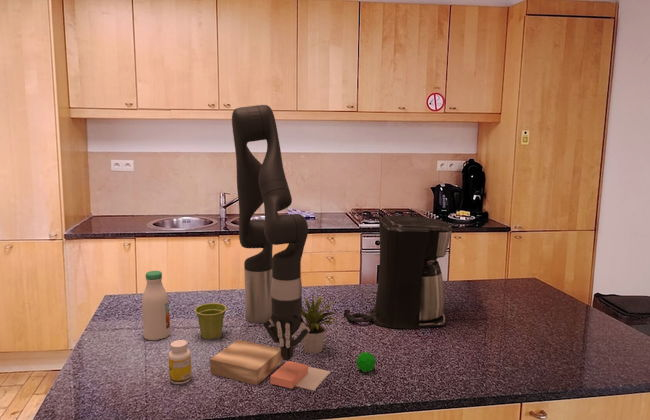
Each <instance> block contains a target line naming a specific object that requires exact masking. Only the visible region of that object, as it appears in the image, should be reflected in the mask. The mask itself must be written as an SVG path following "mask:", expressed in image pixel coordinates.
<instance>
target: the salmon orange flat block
mask: <svg viewBox="0 0 650 420" xmlns="http://www.w3.org/2000/svg"><path fill="white" fill-rule="evenodd" d="M308 367H309V365H308V364H304V363H299V362H295V361H291V360H289V361H285V362H284V363H282V364H281V365H280V367H279V368H278V369H276V371H273V372H272V374H271V375H270V379H269V380H270V384H272V385H275V386H279V387H283V388H287V389H291V390H293V388H294V387H296V386H295V385H296V384H297V383H298V382H299V381H300V380H301V379H302V378H303V377H304V376H305V375H306V374H307V373H308Z"/></svg>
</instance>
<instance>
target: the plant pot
mask: <svg viewBox="0 0 650 420" xmlns="http://www.w3.org/2000/svg"><path fill="white" fill-rule="evenodd" d="M226 311H227V306H226V305H224V304H222V303H218V302H210V303H205V304H204V303H203V304H201V305H198V306H196V307H195V308H194V313H196V317H197V318H198V319H197V320H198V325H199V330H200V336H201V338H202V339H204V340H212V339H219V338H221V336H222V334H223V328H224V327H223V325H224V324H223V323H224V318H225V317H224V316H225V315H226Z"/></svg>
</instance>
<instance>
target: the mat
mask: <svg viewBox="0 0 650 420" xmlns="http://www.w3.org/2000/svg"><path fill="white" fill-rule="evenodd" d="M330 374H331V371H329V370H326V369H321V368H316V367H311V366H308V373H307V374H306V375H305V376H304V377H303V378H302V379H301V380H300V381H299V382H298V383H297V384H296V385H295V386H294V387H297V388H301V389H305V390H309V391H315V390H316V389H318V387H319V386H320V385H321V384H322V383H323V382H324V380H325V379H326V378H327V377H328V376H329V375H330Z"/></svg>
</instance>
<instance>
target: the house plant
mask: <svg viewBox="0 0 650 420" xmlns="http://www.w3.org/2000/svg"><path fill="white" fill-rule="evenodd" d="M314 297H315V293H314V294H312V296H311V304H310V303H309V301H308V299H306V298H305V297H304V298H303V299H304V301H305V303H304V301H302V303H304V305H305V306H306V308H307V311H306V310H305V308H304V307H303V306H302V313H301V316H302V317H303V318H304V319H305V321H306V322H307V323H306V322H305V321H303V323H304V324H305V325H306V326H307V327H308V326H309V327H311V331H310V332H309V333H308V334H307V335H306V336H305V337H304V339H303V340H302V344H303V349H304V352H305V353H308V354H319V353H321V352H323V347H324V341H325V337H326V331H327V330H326V327H325V326H323V324H332V325H334V323H333V321H335V322H337V321H336V319H335V318H334V317H332V316H331V317H327V316H330V315H335V314H336V315H339V314H340V313H338V312H333V311H332V312H331V311H329V310H334V308H333V307H330V305H331V304H334V303H335V302H336V301H331V302H329V303H328V304H326V305H325V306H324V307H323V308H322V309H321V310H320V307H321V304H322V302H324V300H326V297H323V295H322V294H321V295H319V296H318V297H317V299H316V301H315V299H314ZM322 297H323V298H322ZM328 307H329V308H328Z"/></svg>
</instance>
